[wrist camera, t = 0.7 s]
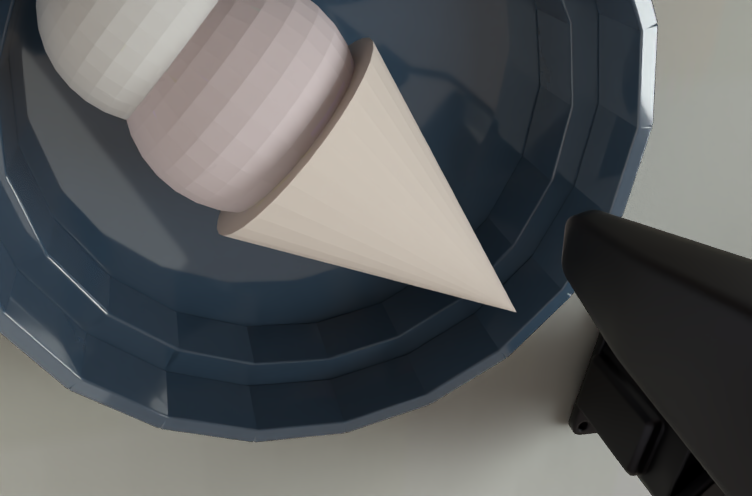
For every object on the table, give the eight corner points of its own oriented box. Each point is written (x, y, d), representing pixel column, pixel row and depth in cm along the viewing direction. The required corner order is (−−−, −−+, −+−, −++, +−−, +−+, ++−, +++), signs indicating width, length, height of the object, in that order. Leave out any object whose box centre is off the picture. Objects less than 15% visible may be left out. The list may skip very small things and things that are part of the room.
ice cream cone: (467, 260, 25) (85, -44, 20) (616, 199, 21) (176, -220, 15) (421, 419, 22) (-58, 106, 16) (588, 387, 17) (4, -64, 12)
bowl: (643, -192, 20) (761, -193, 16) (502, 334, 28) (557, 412, 25) (-105, -340, 14) (-189, -394, 11) (-2, 365, 23) (-29, 471, 19)
